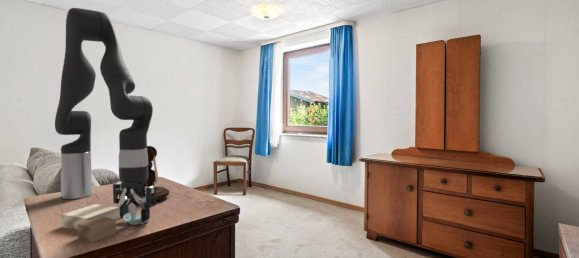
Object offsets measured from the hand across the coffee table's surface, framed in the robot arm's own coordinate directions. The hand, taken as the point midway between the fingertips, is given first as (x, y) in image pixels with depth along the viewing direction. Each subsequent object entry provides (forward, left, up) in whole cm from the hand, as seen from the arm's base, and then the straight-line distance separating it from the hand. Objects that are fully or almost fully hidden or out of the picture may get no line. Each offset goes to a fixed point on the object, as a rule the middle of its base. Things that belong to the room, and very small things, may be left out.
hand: (134, 219), depth 83 cm
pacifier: (0, +1, -1) cm, 1 cm away
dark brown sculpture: (-15, +20, -1) cm, 25 cm away
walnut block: (-2, -10, -1) cm, 10 cm away
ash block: (-12, -4, -1) cm, 13 cm away
